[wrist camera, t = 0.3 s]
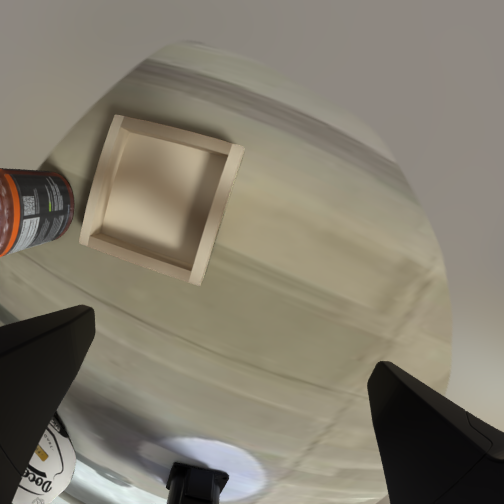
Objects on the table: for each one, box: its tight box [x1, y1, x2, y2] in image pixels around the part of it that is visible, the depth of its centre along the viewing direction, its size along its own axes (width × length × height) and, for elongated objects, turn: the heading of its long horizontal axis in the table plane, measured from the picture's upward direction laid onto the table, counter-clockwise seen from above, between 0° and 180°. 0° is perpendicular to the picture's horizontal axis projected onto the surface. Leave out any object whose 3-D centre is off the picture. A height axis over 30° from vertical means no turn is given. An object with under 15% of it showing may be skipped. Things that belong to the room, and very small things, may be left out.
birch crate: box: [79, 114, 244, 286], centre depth 20 cm, size 10×10×2 cm
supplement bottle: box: [0, 168, 74, 257], centre depth 15 cm, size 6×6×11 cm
